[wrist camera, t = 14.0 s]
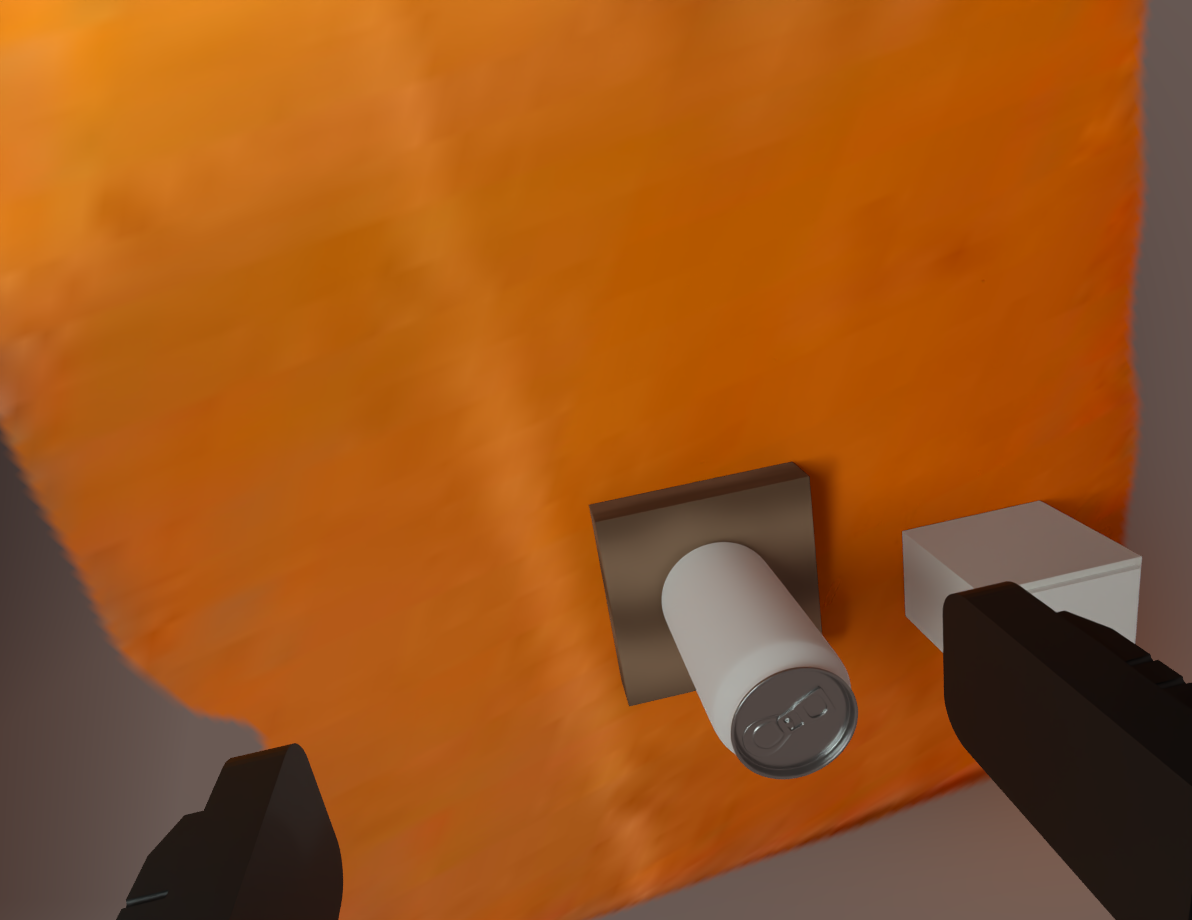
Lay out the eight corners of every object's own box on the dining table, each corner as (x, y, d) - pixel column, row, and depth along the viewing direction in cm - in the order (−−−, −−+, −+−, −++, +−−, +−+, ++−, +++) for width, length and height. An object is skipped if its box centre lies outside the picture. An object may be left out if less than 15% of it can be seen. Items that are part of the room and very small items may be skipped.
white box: (902, 531, 48) (985, 597, 40) (1039, 500, 49) (1148, 559, 41) (905, 615, 50) (985, 694, 42) (1037, 585, 51) (1140, 657, 43)
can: (637, 581, 44) (693, 716, 33) (735, 516, 43) (826, 631, 32) (696, 660, 46) (766, 812, 35) (789, 599, 46) (892, 734, 34)
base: (589, 504, 45) (595, 522, 42) (792, 461, 46) (809, 476, 43) (621, 681, 49) (629, 706, 46) (807, 638, 50) (824, 660, 47)
